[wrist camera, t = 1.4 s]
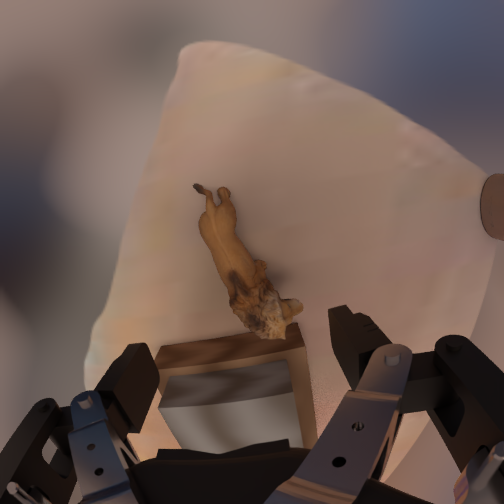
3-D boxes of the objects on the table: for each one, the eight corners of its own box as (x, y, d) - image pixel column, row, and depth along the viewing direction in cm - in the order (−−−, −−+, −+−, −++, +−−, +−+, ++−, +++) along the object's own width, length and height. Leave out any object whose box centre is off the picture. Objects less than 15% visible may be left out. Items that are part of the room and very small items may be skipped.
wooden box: (297, 322, 30) (316, 377, 21) (312, 425, 34) (325, 478, 25) (161, 346, 31) (134, 400, 21) (205, 440, 35) (198, 492, 25)
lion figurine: (297, 288, 29) (316, 328, 21) (255, 314, 30) (258, 362, 21) (215, 169, 27) (200, 160, 18) (172, 201, 27) (140, 207, 18)
